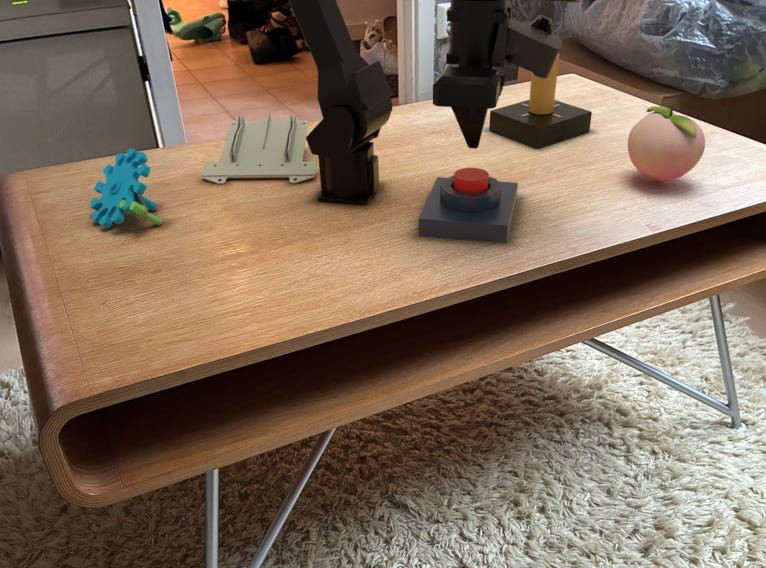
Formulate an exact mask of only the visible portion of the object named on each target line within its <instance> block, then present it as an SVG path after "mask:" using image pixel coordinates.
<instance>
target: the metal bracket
mask: <svg viewBox="0 0 766 568" xmlns="http://www.w3.org/2000/svg"><path fill="white" fill-rule="evenodd" d="M236 116H237V117H236V120H231V121H230V122H229V126H228V128H227V129H228V130H227V133H226V138H225V141H224V146H223V149H222V154H221V157H220V161H219V162H218V161H216V162H215V161H211V162H209V161H208V162H204V164H203V168H202V171H201V179H203V180H206V181H208V182H211V183H214V184H217V185H224V184H226V183H227V179H261V178H263V179H264V178H266V179H267V178H269V179H271V178H276V179H277V178H279V179H280V178H283V179H284V178H288V180H289V183H290V184H298V183H302V182H304V181H308V180H311V179H314V178H316V174H317V167H318V163H317V161H315V160H314V161H312V160H311V161H307V160H306V161H304V154H305V149H306V142H307V140H306V137H307V135H308V128H309V120H307V119H297V117H296V114H293V115H292V114H289V119H281V120H278V119H277V120H276V119H275V120H274V119H273V120H272V118H271V112H269V111H268V112H267V116H266V119H265V120H245V117H244V115H236Z"/></svg>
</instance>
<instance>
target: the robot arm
mask: <svg viewBox="0 0 766 568" xmlns="http://www.w3.org/2000/svg"><path fill="white" fill-rule="evenodd" d="M548 1H552V2H564V3H578V4H579V3H580V2H581V1H582V0H548ZM288 3H289V5H290V7H291V9H292V12H293V15H294V17H295V19H296V22H297V25H298V26H299V29H300V32H301V34H302V36H303V38H304V40H305V43H306V45H307V47H308V50H309V52H310V54H311V57H312V59H313V62H314V65H315V67H316V70H317V102H318V105H319V109H320V112H321V116H322V119H321V120H320V121H319V122H318V124H316V125H315V127H314V128H313V129H312V130H311V131H310V132H309V133H307V135H306V142H307V145H308V148H309V151H310V153H311V154H312V155H314V156H317V158H318V168H319V170H318V171H319V181H320V182H319V183H320V191H319V192H318V194H317V195H316V200H317V201H318V202H327V203H342V204H351V205H352V204H354V205H355V204H356V205H367V204H369V202H370V200H371V199H372V197H373V195H375V193H376V192H377V190H378V189H379V188H380V170H379V169H380V168H379V156H378V155H376V154H375V152H374V149H375V148H374V147H375V146H374V141H373V140H374V139H377V138H378V137H379V135H380V132H381V129H382V127H384V126H385V125H386V124H387V122H388V121H389V120H390V117H391V115H392V112H393V101H392V98H391V96H393V95H394V94H395V92H394V90H393V89H392V88H391V87H390V85H389V84H388V82H387V79H386V76H385V75H386V74H385V72H384V68H383V65H382V63H381V61H380V60H376V61H374V62H372V63H370V64H369V62H368V61H366V60H365V59H364V58H363V57H362V55H360V54H359V52H358V51H357V49H356V47H355V45H354V42H353V40H352V37H351V34H350V32H349V29H348V28H347V24H346V23H345V20H344V17H343V15H342V12H341V10H340V8H339V4H338V2H337V0H288ZM510 4H511V2H510V1H509V0H450V6H449V7H448V9H447V10H446V22H449V30H450V31H449V48H448V51H447V52H446V53H445V55H446V56H445V64H446V65H457V66H447V67H446V68H445V69H444V70H443V71H442V72H441V73H440V74H438V76H437V78H436V80H434V82H433V84H432V105H433V106H436V107H444V108H450V109H451V110H452V113H453V115H454V117H455V119H456V121H457V124H458V126H459V129H460V131H461V133H462V136H463V138H464V141H465V143H466V145H467V148H468V149H478V148H479V146H480V142H481V138H482V135H483V130H484V126H485V124H486V123H485V122H486V118H487V114H488V110H491V109H496V107H497V105H498V102H499V100H500V99H499V98H500V97H501V95H502V92H503V90H504V86H505V84H506V81H507V78H508V76H507V75H503V74H499V71H498V70H497V69H495V68H505V66H511V65H514V66H516V67H519V68H522V69H524V70H526V71H529V72H531V73H532V72H533V74H534V75H535V76H537V77H540V78H547V77H548V75H549V73H550V71H551V68H552V66H553V64H554V62H555V60H556V57H557V55H558V53H559V54H560V51H561V49H562V43H563V41H562V39H561V38H560V36H559V35H558V34H555V35H554V33H553V29H554V27H553V19H552V18H550V17H547V16H545V15H543V14H539V15H538V16H536V17H535V19H533V20H531V22H530V23H529V24H528V22H527V21H525V20H524V21H523V22H521V21H520V20H516V19H515V18H513V6H512V5H510Z"/></svg>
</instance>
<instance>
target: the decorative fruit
mask: <svg viewBox="0 0 766 568" xmlns="http://www.w3.org/2000/svg"><path fill="white" fill-rule="evenodd" d="M674 107H675V104H674V103H673V104H671V106H670V108H669V107H667V106H663V105H662V106H661V105H658V106H654V105H653V106H650V107H648V108H647V110H646V113H648V114H646V115H645V116H644V117H642V118H641V119H640V120H638V121H637V122H636V123H635V124H634V125H633V126H632V128H631V130H630V132H629V134H628V137H627V153H628V157H629V160H630V162H631V163H632V165H633V166H634V168H635V169H636V170H638V172H640V173H641V174H643V175H644V176H646V177H648V178H650V179H652V180H654V181H655V183H656V184H661V183H667V182H670V181H675V180H677V179H680V178H682V177H683V176H685V175H687V174H688V173H689V172H690V171H692V170H693V169H694V168H695V167H696V166H697V164H698V163H699V162H700V160H701V158H702V157H703V154H704V152H705V148H706V138H705V134H704V132H703V129H702V128H701V126H700V125H699V124H698V123H697V122H696V121H695V120H694V119H692V118H689V117H688V116H685V115H680V114H677V113H675V112H674Z"/></svg>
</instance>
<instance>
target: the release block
mask: <svg viewBox="0 0 766 568" xmlns="http://www.w3.org/2000/svg"><path fill="white" fill-rule="evenodd" d="M518 188H519V182H513V181H499V180H497V178H495V177H492V176H489V183H488V190H487V191H485V192H481V193H475V194H472V193H461V192H458V191H455V190H454V174H453V175H451V176H449V177H441V176H437V177H436V179H435V181H434V183H433V186H432V188H431V190H430V192H429V195H428V197H427V199H426V200H425V203H424V206H423V207H422V210H421V212H420V214H419V217H418V219H417V220H418V223H417V224H418V229H417V230H418V231H417V232H418V237H425V238H427V237H429V238H439V239H449V240H462V241H473V242H474V241H475V242H484V243H485V242H486V243H499V244H508V239H509V235H510V230H511V225H512V221H513V217H514V212H515V209H516V204H517V200H518Z"/></svg>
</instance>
